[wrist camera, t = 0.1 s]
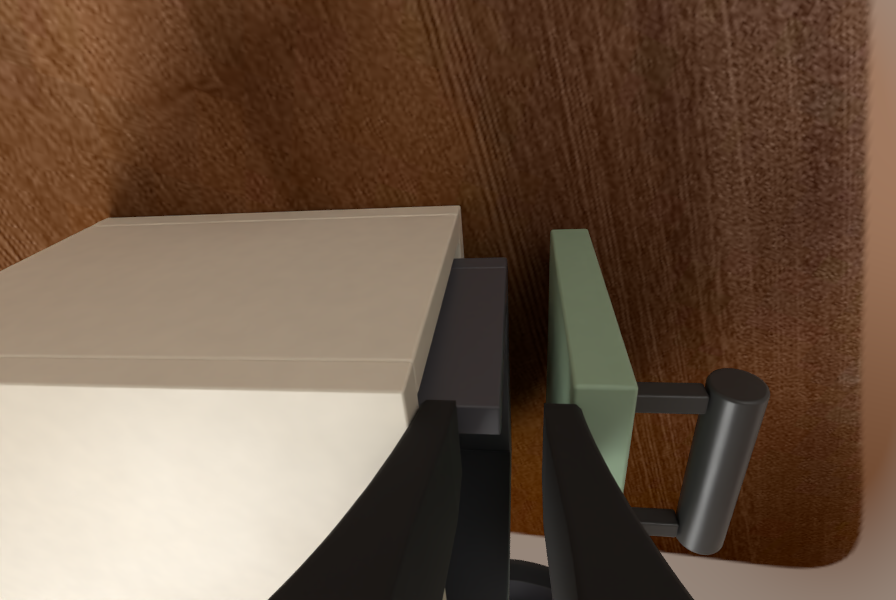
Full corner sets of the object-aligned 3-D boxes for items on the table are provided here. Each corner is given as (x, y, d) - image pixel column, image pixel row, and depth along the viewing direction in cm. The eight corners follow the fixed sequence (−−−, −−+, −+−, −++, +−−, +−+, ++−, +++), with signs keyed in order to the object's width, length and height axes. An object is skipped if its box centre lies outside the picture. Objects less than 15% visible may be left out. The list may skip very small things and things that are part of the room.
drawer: (717, 223, 15) (875, 391, 8) (668, 462, 20) (742, 685, 14) (227, 237, 18) (47, 376, 11) (296, 448, 23) (202, 630, 16)
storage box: (460, 204, 17) (403, 392, 9) (477, 448, 23) (453, 702, 14) (106, 217, 19) (-220, 378, 11) (205, 438, 25) (45, 655, 16)
